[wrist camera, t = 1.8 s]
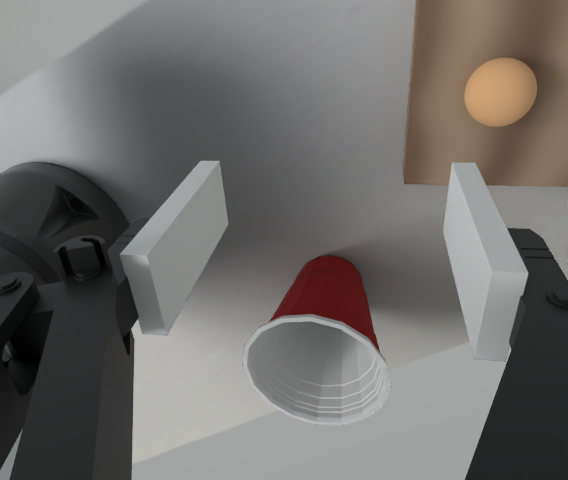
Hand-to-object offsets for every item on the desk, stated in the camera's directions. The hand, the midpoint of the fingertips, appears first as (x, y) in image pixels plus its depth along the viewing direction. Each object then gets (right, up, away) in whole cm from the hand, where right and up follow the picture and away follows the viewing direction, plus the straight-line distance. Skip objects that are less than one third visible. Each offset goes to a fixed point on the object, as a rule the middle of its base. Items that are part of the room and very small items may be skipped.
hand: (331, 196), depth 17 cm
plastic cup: (+2, -5, +26) cm, 27 cm away
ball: (+11, +7, +11) cm, 17 cm away
